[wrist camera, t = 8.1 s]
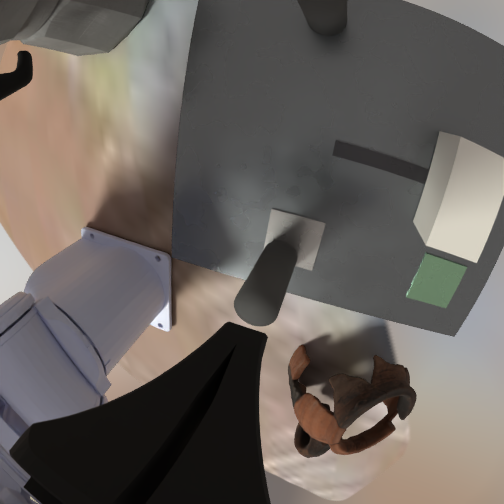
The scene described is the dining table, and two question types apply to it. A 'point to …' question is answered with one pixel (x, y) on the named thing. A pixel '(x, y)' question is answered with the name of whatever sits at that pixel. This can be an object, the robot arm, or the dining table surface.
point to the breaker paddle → (460, 197)
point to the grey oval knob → (266, 285)
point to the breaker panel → (333, 151)
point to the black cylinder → (325, 15)
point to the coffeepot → (63, 30)
